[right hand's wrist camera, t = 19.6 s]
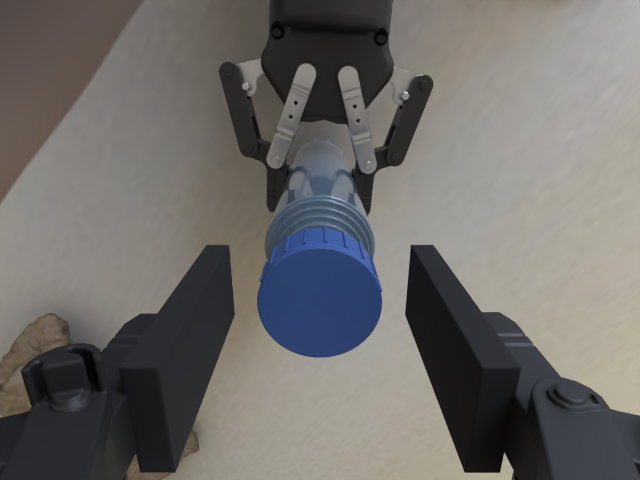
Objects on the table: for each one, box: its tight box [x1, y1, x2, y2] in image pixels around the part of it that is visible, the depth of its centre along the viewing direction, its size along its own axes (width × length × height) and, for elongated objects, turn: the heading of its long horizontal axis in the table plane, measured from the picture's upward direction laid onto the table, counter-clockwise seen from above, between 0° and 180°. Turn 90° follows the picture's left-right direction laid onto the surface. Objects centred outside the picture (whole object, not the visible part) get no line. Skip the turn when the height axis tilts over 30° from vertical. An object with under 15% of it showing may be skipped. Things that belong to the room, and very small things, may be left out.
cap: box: [257, 227, 382, 357], centre depth 14 cm, size 4×4×2 cm
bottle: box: [265, 140, 375, 262], centre depth 24 cm, size 5×5×23 cm
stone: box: [0, 313, 199, 480], centre depth 41 cm, size 21×15×6 cm
